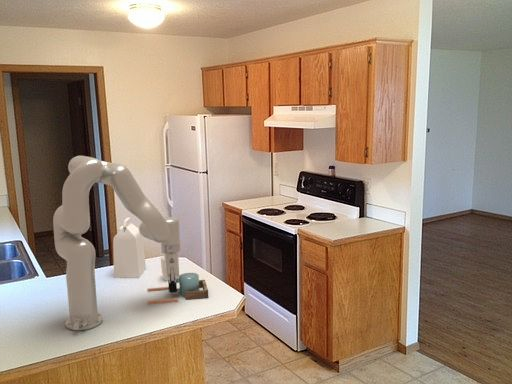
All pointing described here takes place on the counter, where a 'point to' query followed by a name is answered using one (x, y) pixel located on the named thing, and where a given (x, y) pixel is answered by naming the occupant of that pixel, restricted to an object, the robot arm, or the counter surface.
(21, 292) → the counter surface
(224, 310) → the counter surface
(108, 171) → the robot arm
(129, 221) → the milk
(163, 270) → the white cup
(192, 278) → the jug
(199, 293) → the brown wooden frame
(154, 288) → the strips
